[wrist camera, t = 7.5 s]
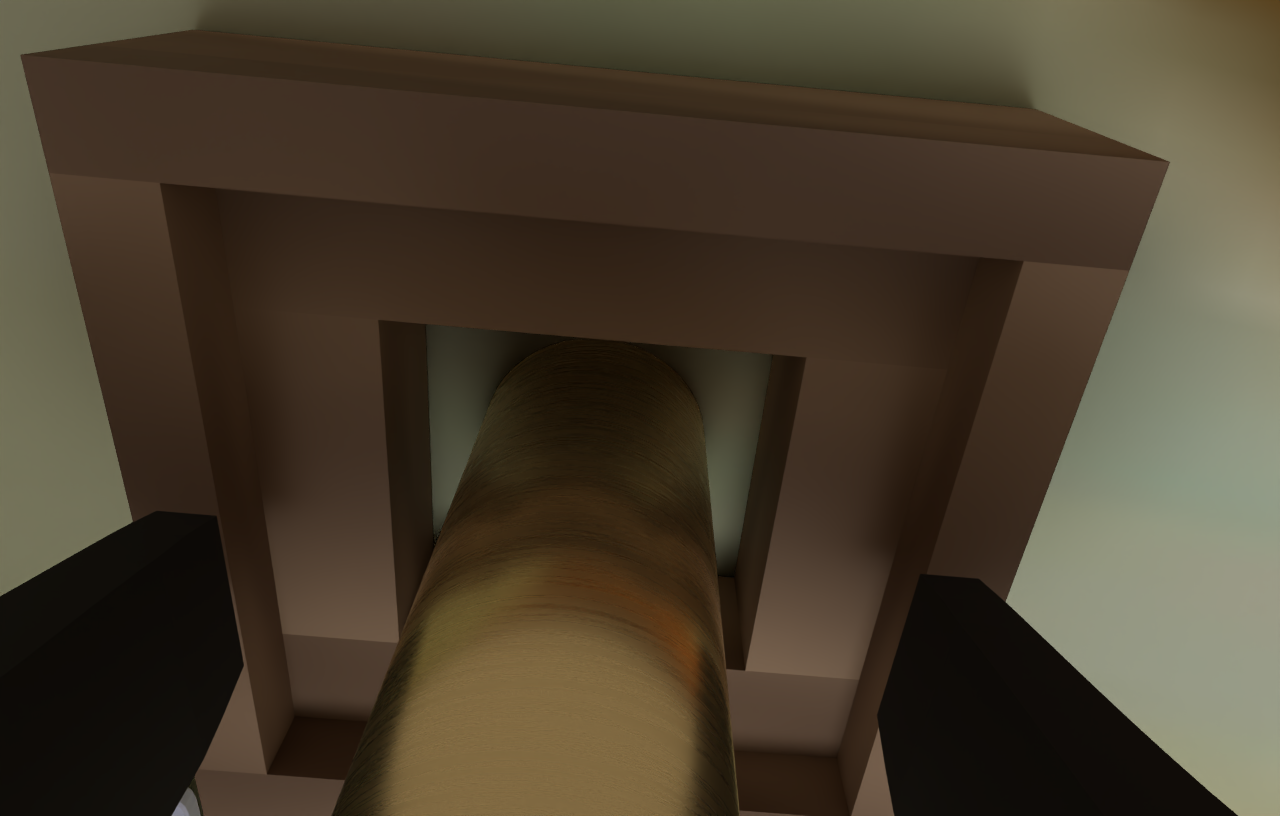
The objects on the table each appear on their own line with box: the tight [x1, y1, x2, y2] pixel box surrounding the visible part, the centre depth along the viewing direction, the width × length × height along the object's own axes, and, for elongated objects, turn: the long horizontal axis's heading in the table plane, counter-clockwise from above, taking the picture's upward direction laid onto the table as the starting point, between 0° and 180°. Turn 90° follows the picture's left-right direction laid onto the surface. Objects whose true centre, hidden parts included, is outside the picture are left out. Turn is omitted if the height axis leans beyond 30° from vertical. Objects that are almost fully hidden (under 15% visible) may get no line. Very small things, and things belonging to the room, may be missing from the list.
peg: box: [331, 338, 740, 816], centre depth 9 cm, size 3×3×8 cm
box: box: [21, 30, 1170, 816], centre depth 11 cm, size 10×10×3 cm
